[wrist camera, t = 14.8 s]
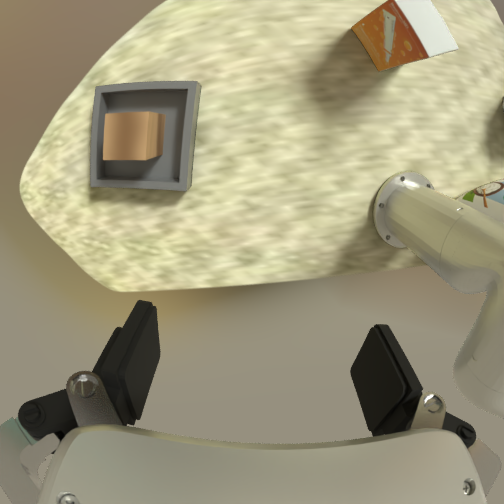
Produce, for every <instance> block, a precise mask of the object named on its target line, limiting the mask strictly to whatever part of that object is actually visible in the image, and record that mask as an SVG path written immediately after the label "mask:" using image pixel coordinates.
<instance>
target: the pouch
mask: <svg viewBox="0 0 504 504" xmlns="http://www.w3.org/2000/svg"><path fill="white" fill-rule="evenodd" d="M456 200H457V201H459V202H461V203H463V204H465V205H467V206H469V207H471V208H473V209H475V210H477V211H479V212H482V213H484V214H486V215H487V216H489V217H491V218H493V219H495V220H497V221H499V222H501V223H503V224H504V179H500V180H497V181H494V182H491V183H488V184H485V185H483V186H480V187H478V188H476V189H474V190H471V191H469V192H467V193H465V194H464V195H462V196H460V197H459V198H457V199H456Z"/></svg>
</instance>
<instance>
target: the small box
mask: <svg viewBox="0 0 504 504" xmlns="http://www.w3.org/2000/svg"><path fill="white" fill-rule="evenodd" d="M351 29H352V30H353V31H354V33H355V34H356V35H357V37H358V38H359V40H360V41H361V43H362V44H363V46H364V47H365V49H366V51H367V52H368V54H369V56H370V57H371V59H372V61H373V62H374V64H375V66H376V68H377V70H378V71H379V72H380V71H384V70H387V69H390V68H394V67H397V66H401V65H404V64H408V63H411V62H415V61H419V60H423V59H427V58H430V57H434V56H437V55H440V54H444V53H448V52H451V51H455V50H458V49H459V48H458V46H457V44H456V42H455V40H454V38H453V36H452V34H451V33H450V31H449V29H448V27H447V25H446V23H445V21H444V20H443V18H442V16H441V15H440V14H439V12H438V11H437V9H436V8H435V6H434V5H433V3H432V2H431V0H388V1H386V2H385V3H383V4H382V5H380V6H379V7H378V8H376V9H375V10H373V11H372V12H371V13H369V14H368V15H367V16H365V17H364V18H362V19H361V20H360V21H359V22H357V23H356V24H355V25H354V26H352V27H351Z"/></svg>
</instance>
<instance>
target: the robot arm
mask: <svg viewBox="0 0 504 504" xmlns="http://www.w3.org/2000/svg"><path fill="white" fill-rule="evenodd" d="M400 178H401V179H400ZM379 204H380V205H379ZM373 219H374V224H375V228H376V230H377V232H378V234H379V235H380V237H381V238H382V239H383V240H384V241H385V242H386V243H388V244H389V245H391V246H394V247H397V248H409V249H410V250H411V251H412V252H413V253H414V254H416V255H417V256H418V257H419V258H420V259H421V260H422V261H424V262H425V263H426V264H427V265H428V266H429V267H430V268H431V269H433V270H434V271H435V272H436V273H437V274H438V275H439V276H440V277H441V278H442V279H443V280H445V281H446V282H447V283H448V284H449V285H450V286H451V287H453V288H454V289H455V290H457V291H459V292H462V293H465V294H475V293H480V292H485V291H487V295H486V299H485V301H484V304H483V306H482V308H481V312H480V314H479V316H478V318H477V320H476V322H475V323H474V325H473V327H472V329H471V331H470V333H469V335H468V336H467V338H466V340H465V342H464V344H463V346H462V347H461V349H460V351H459V353H458V355H457V357H456V360H455V363H454V367H453V379H454V382H455V385H456V387H457V389H458V390H459V392H460V393H461V395H462V396H463V397H464V398H465V399H467V400H468V401H469V402H470V403H472V404H473V405H475V406H476V407H478V408H480V409H482V410H484V411H486V412H489V413H491V414H493V415H496V416H498V417H500V418H503V419H504V224H503V223H501V222H499V221H497V220H495V219H493V218H491V217H489V216H487V215H486V214H484V213H482V212H479V211H477V210H475V209H473V208H471V207H469V206H467V205H465V204H463V203H461V202H459V201H457V200H455V199H453V198H451V197H448V196H446V195H444V194H442V193H439V192H437V191H435V189H434V187H433V185H432V184H431V182H430V181H429V180H428V179H427V178H426V177H424V176H423V175H421V174H419V173H416V172H412V171H405V172H400V173H397V174H395V175H393V176H392V177H391V178H389V179H388V180H387V181H386V182H385V183H384V184H383V186H382V187H381V189H380V190H379V192H378V194H377V197H376V200H375V203H374V210H373ZM159 359H160V344H159V333H158V321H157V309H156V306H153V305H152V303H151V302H148V301H142V300H139V301H137V303H136V305H135V307H134V308H133V310H132V312H131V314H130V316H129V317H128V319H127V321H126V322H125V324H124V326H123V328H121V327H117V328H116V329H115V330H114V332H113V335H112V336H111V337H110V339H109V341H108V343H107V345H106V346H105V348H104V350H103V352H102V354H101V356H100V357H99V359H98V361H97V363H96V365H95V367H94V369H93V371H92V372H90V371H79V372H77V373H74V374H73V375H72V376H70V378H69V379H68V381H67V384H66V389H64V390H61V391H58V392H55V393H52V394H49V395H46V396H43V397H39V398H36V399H33V400H30V401H28V402H26V403H24V404H23V405H22V406H21V408H20V409H19V413H18V417H17V418H16V419H14V418H13V417H12V418H10V419H9V420H7V421H6V422H4V423H3V424H2V425H1V426H0V486H1V487H2V489H3V490H4V492H5V494H6V495H7V497H8V498H9V499H10V501H11V502H12V504H487V501H486V496H487V494H488V492H489V490H490V489H491V487H492V485H493V483H494V481H495V480H496V478H497V476H498V474H499V472H500V470H501V460H500V458H499V457H498V456H497V455H496V454H495V453H494V452H493V451H492V450H491V449H490V448H489V447H488V446H487V445H485V444H484V443H483V442H482V441H481V440H480V439H477V440H476V432H475V430H474V428H473V427H472V426H471V425H470V424H468V423H467V422H465V421H463V420H461V419H459V418H457V417H455V416H453V415H451V414H449V413H447V412H446V404H445V401H444V400H443V398H442V397H441V396H440V395H438V394H437V393H434V392H426V393H424V394H422V392H421V391H422V390H423V388H422V386H421V384H420V382H419V380H418V378H417V376H416V374H415V372H414V370H413V368H412V367H411V365H410V363H409V361H408V359H407V357H406V356H405V354H404V352H403V350H402V349H401V347H400V345H399V343H398V341H397V340H396V338H395V336H394V334H393V333H392V331H391V329H390V328H389V326H388V325H383V324H378V325H377V324H376V325H375V326H374V327H372V328H371V329H370V331H369V333H368V335H367V337H366V339H365V341H364V343H363V346H362V347H361V349H360V351H359V353H358V355H357V358H356V359H355V361H354V363H353V365H352V367H351V371H350V372H351V377H352V380H353V383H354V386H355V389H356V392H357V395H358V398H359V401H360V404H361V408H362V411H363V414H364V417H365V420H366V424H367V427H368V429H369V431H371V432H372V435H373V437H368V438H361V439H353V440H344V441H334V442H322V443H303V444H302V443H301V444H261V443H240V442H226V441H217V440H208V439H200V438H193V437H186V436H179V435H173V434H167V433H162V432H157V431H152V430H146V429H141V428H136V427H129V426H127V424H130V425H134V424H135V421H136V419H137V420H140V418H141V415H142V412H143V408H144V405H145V402H146V399H147V396H148V392H149V389H150V386H151V383H152V380H153V377H154V374H155V371H156V368H157V365H158V362H159ZM49 454H54V455H53V457H52V459H51V462H50V464H49V466H48V469H47V472H46V475H45V477H44V480H43V483H42V482H41V480H40V478H39V477H38V468H39V466H40V465H41V463H43V462H44V461H45V460H46V459H45V457H46V456H48V455H49Z"/></svg>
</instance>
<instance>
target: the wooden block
mask: <svg viewBox="0 0 504 504" xmlns="http://www.w3.org/2000/svg"><path fill="white" fill-rule="evenodd" d="M165 118H166V115H165V114H160V113H155V112H124V113H109V114H105V125H104V143H103V160H148V159H151V158H154V157H157V156H160V155H163V142H164V129H165Z"/></svg>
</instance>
